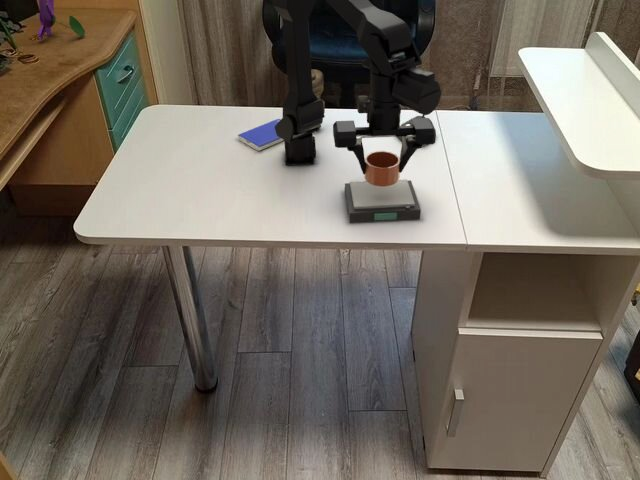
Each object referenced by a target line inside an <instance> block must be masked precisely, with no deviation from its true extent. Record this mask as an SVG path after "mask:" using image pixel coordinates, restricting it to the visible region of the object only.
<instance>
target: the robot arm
mask: <svg viewBox="0 0 640 480" xmlns="http://www.w3.org/2000/svg"><path fill="white" fill-rule="evenodd" d="M271 1H272V6H273V7H274V9H275V10H276V12H277V13H278V15H279V16H280V18H281V21H282V29H283V40H284V50H285V52H284V53H285V64H286V74H287V87H288V91H287V95H286V97H285V98H284V101H283V102H282V103H283V104H282V117H281V118H280V119H281V120H280V121H279V122H278V123H277V124H276V125H275V131H276V134H277V136H278V137H280V138H282V139H283V142H284V143H283V144H284V165H285V166H302V165H303V166H304V165H314V164H315V159H316V158H317V149H316V146H317V145H316V137H315V135H314V136H313V133H316V132H319V131H320V129H321V127H320V125H321V126H322V124H323V121H324V118H325V117H326V116H325V113H324V112H323V104H324V103H323V101H324V100H323V99H322V98H320V99H318V97H317V96H316V95H315V93H314V92H313V88H312V72H311V70H312V58H311V57H312V56H311V42H310V41H311V40H310V25H309V24H310V23H309V18H310V15H311V13H312V12H313V9H314V6H315V5H316V0H271ZM325 2H326V3H328V4H329V5H330V7H331V8H332V9H333V10H335V11H336V12H337V13H338V14H339V16H341V18H343V20H345V21H346V22H347V24H349V26H351V27H352V28H353V30H354V31H355V32H356V36H357V41H358V44H359V45H360V47H361V48H362V50H363V51H364V53H366V55H367V58H365V59H364V60H362V61H361V63H360V65H361V66H362V67H364V68H366V69H369V70H370V71H369V97H368V96H367V95H357V99H356V100H357V102H356V105H357V108H356V109H357V113H358V114H366V123H367V124H368V126H359V127H357V126H356V124H355V121H354V120H336V121H335V122H333V124H332V136H333V142H334V147H335V148H338V149H345V148H346V150H347V151H348V152H353V154H354V156H355V157H356V159H357V161H358V164H359V167H360V169H361V172H362V174H363V175H364V174H365V170H366V168H365V151H364V145H363V139H369V138H371V139H373V138H397V137H401V136H402V141H401V148H400V153H399V158H400V174H402V172H403V171H404V169H405V167H406V166H407V164H408V162H409V161H410V159H411V158H412V156H413V155H414V154H415V152H416V151H417V150H419V149H422V148H423V147H422V145H427V144H429V145H434V144H436V141H437V140H436V139H437V130H436V128H435V125H434V123H433V122H432V120H431V119H430V118H429V117H425V118H414V117H412V118H410V119H409V120H410V124H407V125H406V126H401V113H402V107H404V108H407V109H409V110H411V111H413V112H416V113H418V114H421V115H425V116H428V115H430V114H432V113H433V112H434V111H435V110H436V108H438V105H439V103H440V101H441V97H442V89H441V85H440V83H439V82H438V81H437V80H436V73H434V72H433V71H429V70H424V69H421V68H418V67H420V66H422V65H423V61H422V58H421V56H420V52H419V50H418V49H417V45H416V43H415V42H414V41H415V40H414V39H413V36H412V34H411V31H412V30H411V29H410V27H409V25H408V24H407V22H406V21H404V20H403V19H401V18H400V17H398V16H396V14H394V13H392V12H389V11H386V10H382V9H379V8H378V7H377V6H374V4H372V2H371V1H370V0H325ZM401 56H405V57H403V58H400V59H397V60H395V61H393V60H391V59H394V58H398V57H401ZM321 99H322V100H323V101H322V100H321ZM427 146H428V145H427Z"/></svg>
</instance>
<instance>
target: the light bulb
mask: <svg viewBox="0 0 640 480" xmlns="http://www.w3.org/2000/svg"><path fill="white" fill-rule="evenodd" d="M311 72H312V88H313V92H314V93H315V95H316V96H317V97H318V99H321V100H322V101H323V103H324V104H323V112H324V114H325V113H326V112H325V111H326V102H325V101H324V100H323V99H322V98H321V95H322V94H323V92H324V84H325V81H324V79H325V76H324V73H323V72H322V71H321V70H319V69H313V68H311ZM321 126H322V124H321V125H320V128H321Z"/></svg>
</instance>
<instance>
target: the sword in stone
mask: <svg viewBox="0 0 640 480" xmlns="http://www.w3.org/2000/svg"><path fill="white" fill-rule="evenodd" d="M413 118H426V115H423V114H421V115H416V116H414V117H413ZM410 120H411V119H408V120H407V121H405V122H403V123H401V124H400V126H406V125H407V124H410ZM396 138H397V139H398V140H399V141H401V142H402V136H401V137H396ZM429 145H430V144H427V145H422V148H425V147H427V146H429Z"/></svg>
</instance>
